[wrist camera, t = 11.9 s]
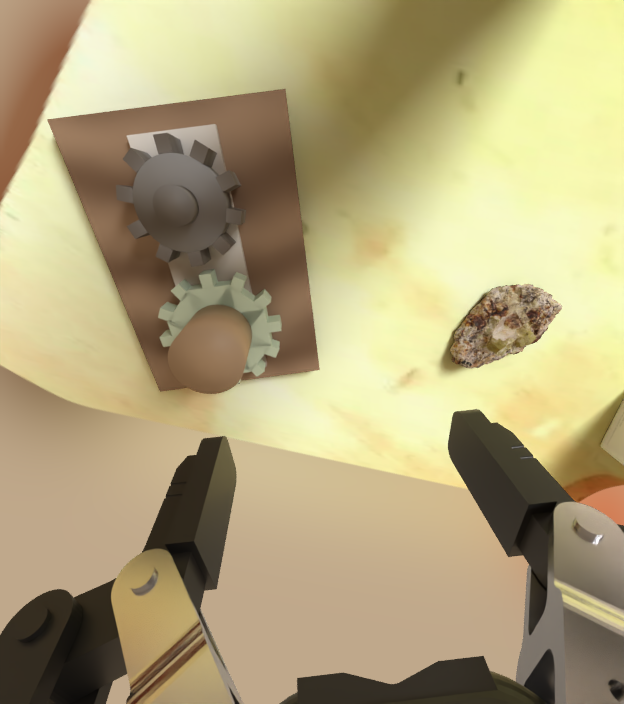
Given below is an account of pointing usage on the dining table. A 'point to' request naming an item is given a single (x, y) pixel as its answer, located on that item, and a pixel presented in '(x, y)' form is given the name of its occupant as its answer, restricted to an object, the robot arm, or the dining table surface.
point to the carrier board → (255, 195)
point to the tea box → (615, 436)
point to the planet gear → (218, 332)
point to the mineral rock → (503, 324)
